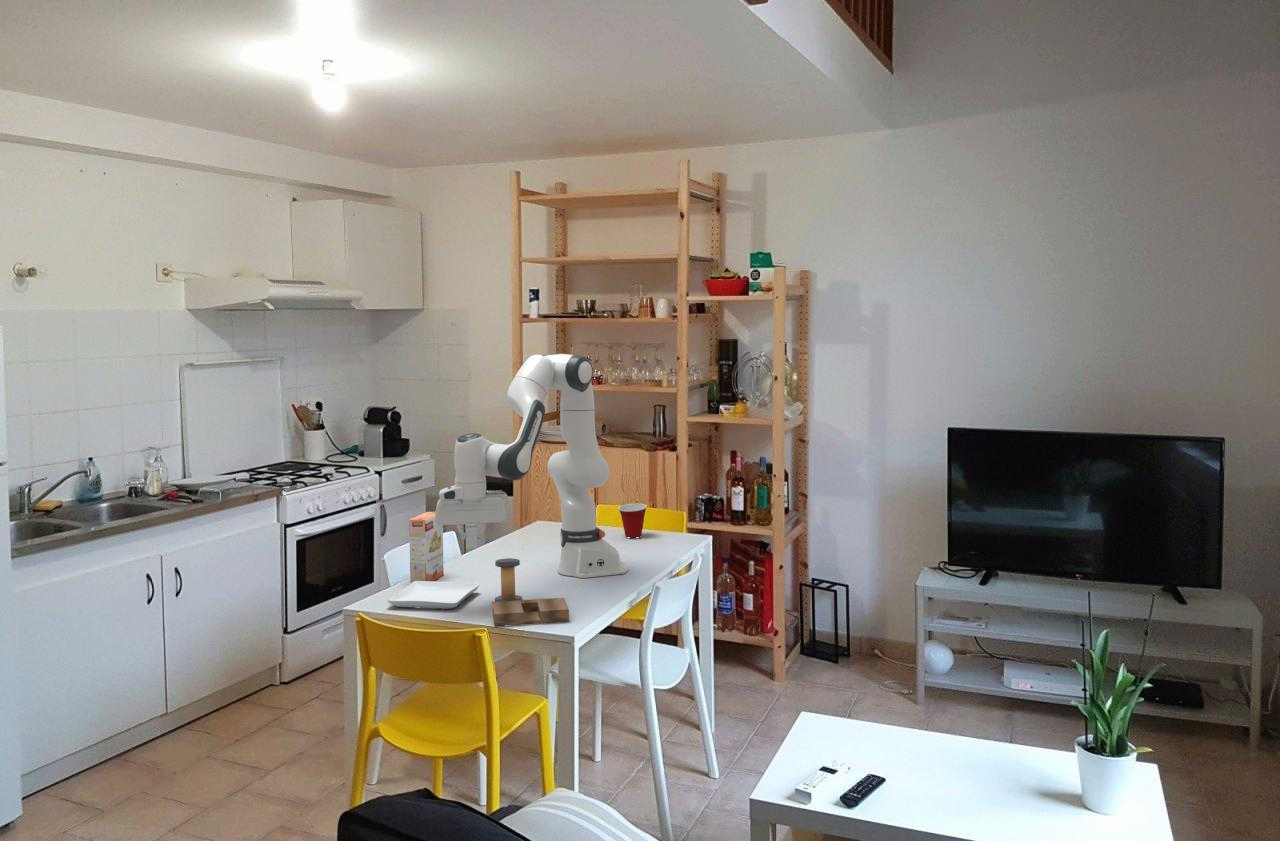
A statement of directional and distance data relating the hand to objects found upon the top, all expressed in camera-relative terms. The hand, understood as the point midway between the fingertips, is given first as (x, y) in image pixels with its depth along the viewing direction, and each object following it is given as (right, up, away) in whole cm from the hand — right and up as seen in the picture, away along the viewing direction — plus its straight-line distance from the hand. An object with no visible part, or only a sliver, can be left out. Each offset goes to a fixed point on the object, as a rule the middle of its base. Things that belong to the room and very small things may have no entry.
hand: (471, 539), depth 295 cm
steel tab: (0, -2, 0) cm, 2 cm away
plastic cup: (+45, -10, +91) cm, 103 cm away
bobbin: (+10, -19, +4) cm, 22 cm away
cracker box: (-19, -17, +32) cm, 41 cm away
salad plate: (-12, -20, +8) cm, 24 cm away
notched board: (+18, -21, -11) cm, 29 cm away
